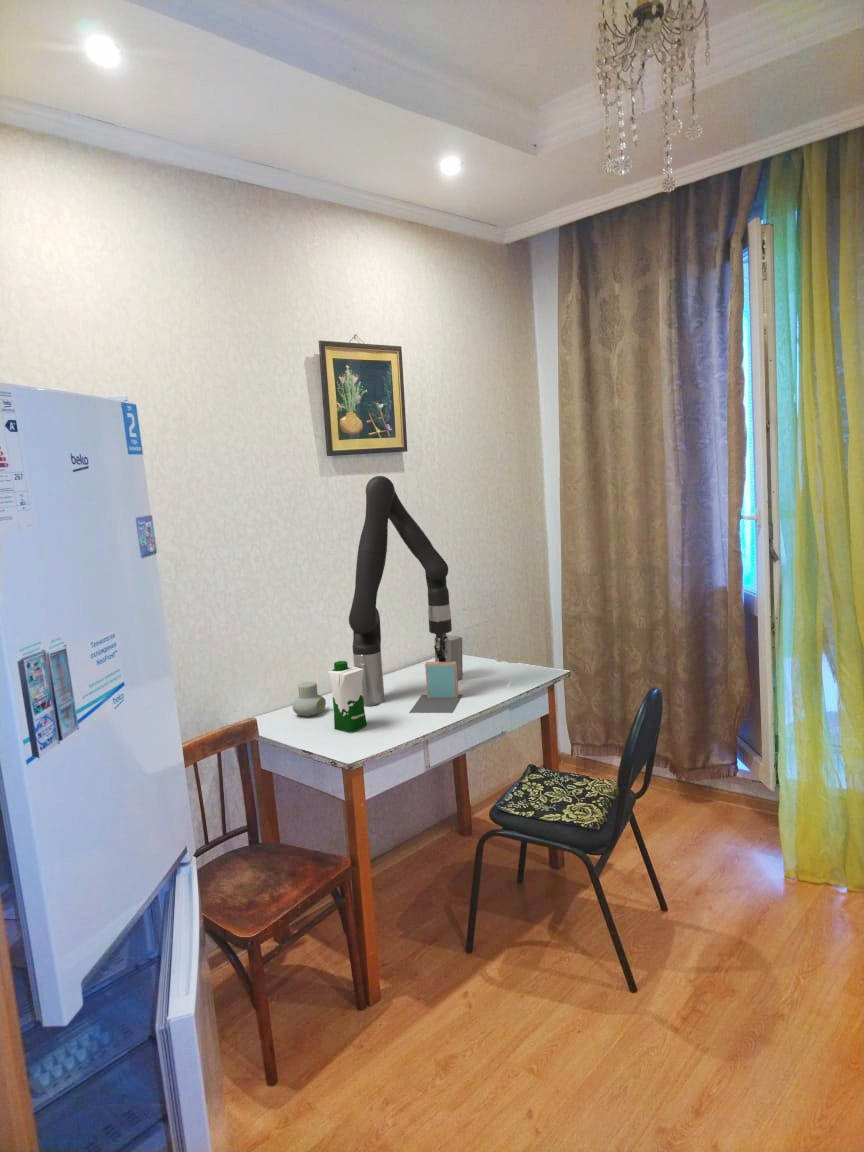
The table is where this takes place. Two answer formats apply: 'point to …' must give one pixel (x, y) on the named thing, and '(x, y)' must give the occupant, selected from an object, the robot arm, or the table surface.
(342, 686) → the milk carton
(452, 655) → the skincare box
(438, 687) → the glazed tile
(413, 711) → the rubber mat
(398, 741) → the table surface
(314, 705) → the grey rounded piece
